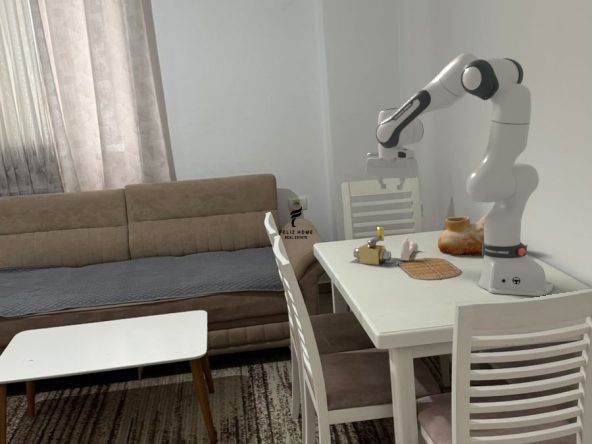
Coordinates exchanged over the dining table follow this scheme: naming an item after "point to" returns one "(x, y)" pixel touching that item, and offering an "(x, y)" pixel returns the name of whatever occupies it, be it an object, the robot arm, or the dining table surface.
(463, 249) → the ceramic vessel
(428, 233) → the dining table surface
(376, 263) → the valve body
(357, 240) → the dining table surface
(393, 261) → the valve base plate
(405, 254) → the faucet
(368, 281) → the dining table surface
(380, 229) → the valve lever
